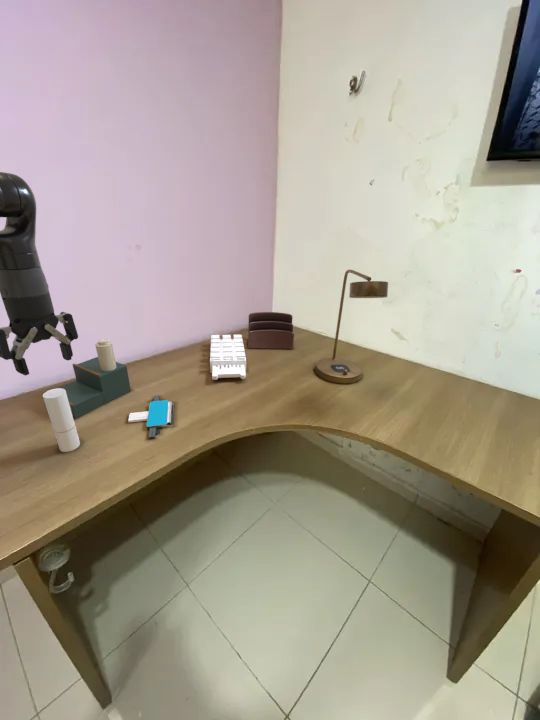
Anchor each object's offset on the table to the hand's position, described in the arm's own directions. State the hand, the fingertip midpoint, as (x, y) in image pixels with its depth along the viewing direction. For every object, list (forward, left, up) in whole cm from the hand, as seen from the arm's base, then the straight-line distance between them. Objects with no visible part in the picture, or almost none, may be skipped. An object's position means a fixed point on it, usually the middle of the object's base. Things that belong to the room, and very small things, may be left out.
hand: (47, 366), depth 66 cm
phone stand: (+7, +19, -22) cm, 30 cm away
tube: (0, 0, -22) cm, 22 cm away
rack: (-16, +16, -22) cm, 31 cm away
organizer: (+3, +60, -22) cm, 64 cm away
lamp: (+46, +72, -22) cm, 88 cm away
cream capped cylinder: (-12, +21, -13) cm, 27 cm away
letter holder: (+8, +85, -22) cm, 88 cm away
